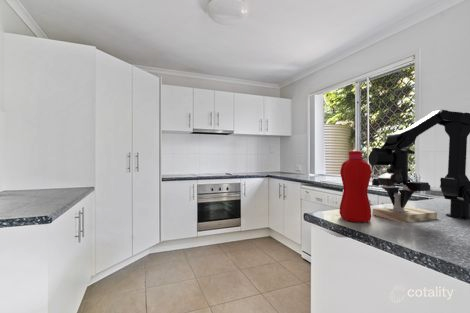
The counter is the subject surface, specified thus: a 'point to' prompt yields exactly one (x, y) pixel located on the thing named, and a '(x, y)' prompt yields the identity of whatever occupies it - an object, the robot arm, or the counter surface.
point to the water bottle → (355, 189)
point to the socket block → (405, 214)
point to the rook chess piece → (398, 204)
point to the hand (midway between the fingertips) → (398, 206)
